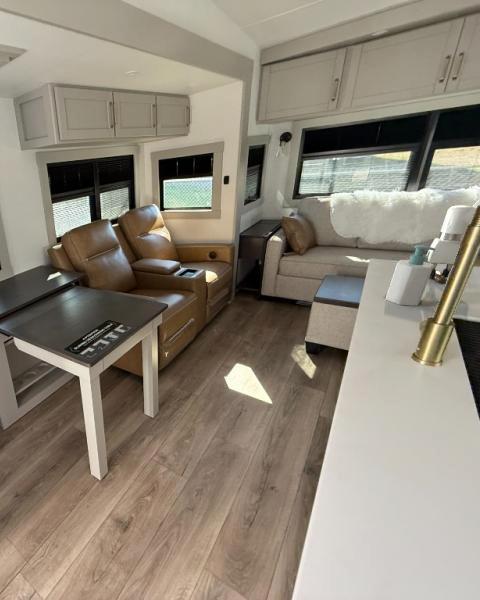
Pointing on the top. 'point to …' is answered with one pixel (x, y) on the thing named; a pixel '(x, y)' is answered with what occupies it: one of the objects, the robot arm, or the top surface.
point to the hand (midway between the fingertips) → (437, 277)
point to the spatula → (439, 277)
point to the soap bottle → (410, 279)
